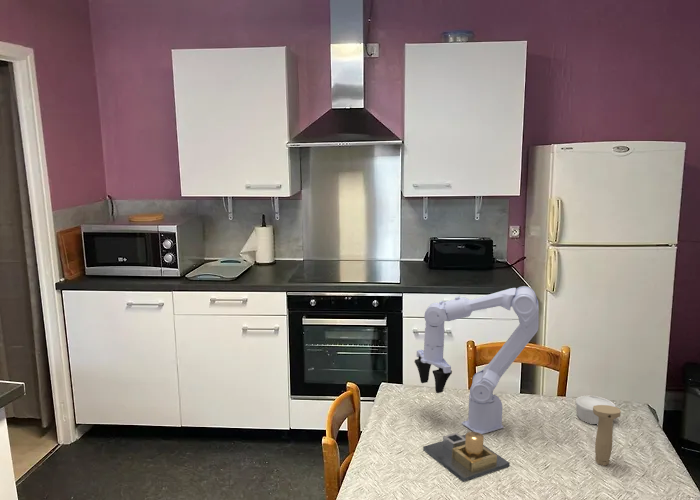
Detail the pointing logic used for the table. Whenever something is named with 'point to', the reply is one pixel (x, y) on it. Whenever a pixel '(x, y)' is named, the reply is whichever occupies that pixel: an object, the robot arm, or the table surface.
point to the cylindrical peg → (474, 445)
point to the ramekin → (590, 407)
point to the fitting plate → (464, 458)
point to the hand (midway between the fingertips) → (431, 387)
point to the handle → (604, 432)
